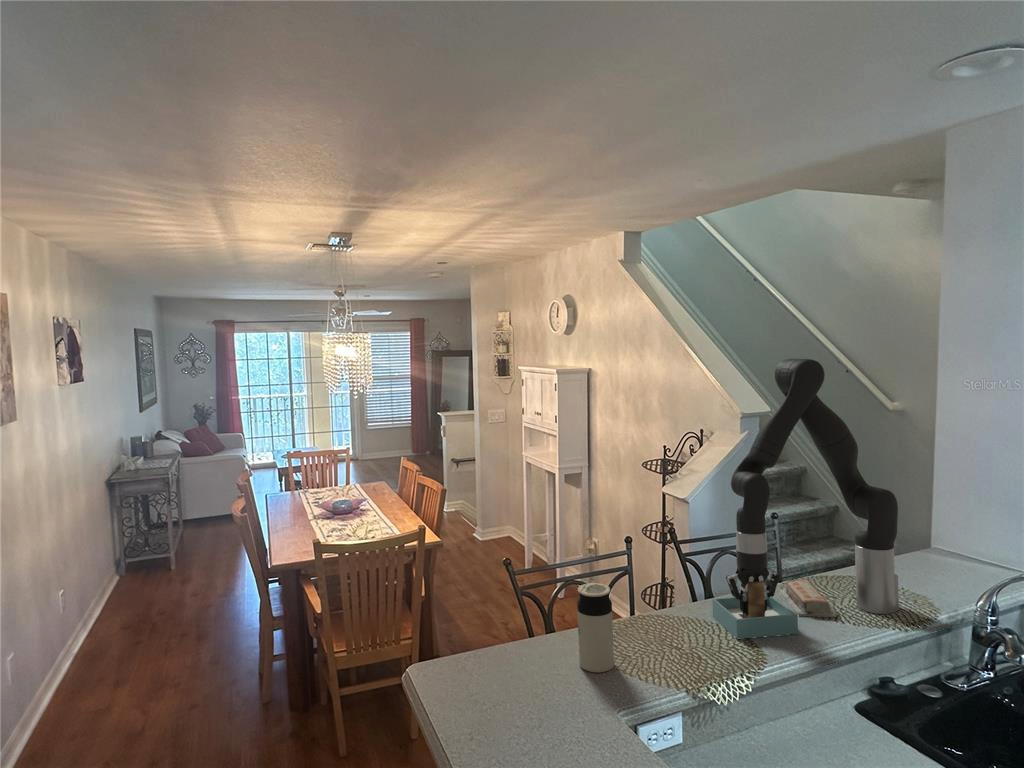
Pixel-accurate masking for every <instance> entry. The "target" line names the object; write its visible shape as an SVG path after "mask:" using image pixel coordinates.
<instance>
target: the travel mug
mask: <svg viewBox="0 0 1024 768" xmlns="http://www.w3.org/2000/svg"><path fill="white" fill-rule="evenodd" d="M577 592H578V594H579V598H578V600H577V602H576V604H577V605H576V606H577V609H576V611H577V631H578V634H577V635H578V655H579V656H578V658H579V667H580V668H582V669H583V670H585V671H587V672H589V673H605V672H608V671H610V670H612V669H613V668H614V666H615V653H614V649H615V648H614V629H613V627H614V626H613V625H614V623H613V620H614V619H613V603H612V600H611V598H610V592H611V588H610V587H609V585H606V584H605V583H599V582H598V583H597V582H596V583H595V582H592V583H591V582H590V583H584V584H582V585H580V586H578V588H577Z"/></svg>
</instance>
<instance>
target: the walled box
mask: <svg viewBox="0 0 1024 768" xmlns="http://www.w3.org/2000/svg"><path fill="white" fill-rule="evenodd" d="M798 617H799V616H798V614H797V613H796V612H795V611H793V609H792V610H791V609H790V608H789V607H787V606H786V605H785V604H783V603H782V602H780V601H779V600H778V599H777V598H775V597H774V596H773V597H771V596H770V597H768V598H767V611H765V616H764V617H753V618H743V613H742V612H741V610H740V600H737V599H736V598H735V597H734V596H732V597H731V596H729V597H720V598H712V618H713V619H714V620H715V621H717V622H718V623H719V625H720V626H721V627H723V628H724V627H725V628H726V629H727V630H728V631H729V632H730V633H731V634H732V635H734V636H735V637H736V638H737V639H738V638H752V639H754V638H753V637H763V638H765V637H764V636H774V637H778V636H777V635H786V636H789V635H788V634H797V635H799V624H798V623H799V622H798ZM725 628H724V629H725ZM726 629H725V630H726ZM727 630H726V631H727ZM728 631H727V632H728ZM729 632H728V633H729ZM730 633H729V634H730ZM731 634H730V635H731ZM732 635H731V636H732ZM736 638H735V639H736ZM737 639H736V640H737Z"/></svg>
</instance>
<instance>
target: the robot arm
mask: <svg viewBox="0 0 1024 768" xmlns="http://www.w3.org/2000/svg"><path fill="white" fill-rule="evenodd" d="M825 377H826V376H825V369H824V367H823V365H822V364H821V363H820V362H819V361H817V360H814V359H812V358H811V359H810V358H786V359H784V360H781V361H779V362H778V364H777V365H776V366H775V369H774V379H775V383H776V385H777V387H778V388H779V390H780V392H781V393H782V394H783V396H784V397H785V398H784V401H783V402H782V404H781V405H780V406H779V407H778V409H777V410H776V411H775V412H774V413H773V414H772V416H771V417H769V418H768V420H766V422H765V423H764V424H763V425H762V427H761V428H760V429H759V431H758V433H757V435H756V436H755V439H754V441H753V443H752V445H751V448H750V450H749V452H748V453H747V455H746V456H745V457H744V458H743V459H742V461H741V462H740V463H739V464H738V465H737V467H736V468H735V470H734V472H733V474H732V476H731V479H730V480H731V481H730V486H731V487H730V488H731V490H732V491H733V493H734V494H736V495H737V496H739V497H742V498H743V504H742V506H741V507H740V508H738V509H737V511H736V514H735V515H736V517H735V519H736V536H735V547H736V548H735V549H736V550H735V551H736V552H735V553H736V554H735V555H736V566H737V567H736V571H735V573H734V574H732V575H729V574H728V575H726V576H725V579H726V582H727V585H728V587H729V590H730V593H731V596H732V597H735V598H736V599H737V600H740V610H741V612H742V613H743V614H744V615H748V601H747V599H748V593H749V589H748V588H749V584H748V583H753V582H755V581H759V582H764V601H765V611H767V598H768V597H770V596H771V597H773V598H774V596H775V593H776V590H777V586H778V583H779V579H780V576H779V574H777V573H776V572H774V571H769V569H768V566H769V565H768V539H767V532H766V529H767V528H766V513H767V509H768V506H769V501H770V496H771V490H770V485H769V481H768V479H767V478H766V477H765V476H763V473H764V472H765V471H766V470H767V469H771V468H774V467H775V465H776V464H777V462H778V461H779V458H780V456H781V453H782V452H783V450H784V447H785V445H786V443H787V441H788V439H789V437H790V436H791V434H792V431H793V430H794V428H795V427H796V425H797V424H798V422H799V421H801V422H802V424H803V426H804V428H805V429H806V430H807V433H808V434H809V436H810V437H811V439H812V442H813V443H814V445H815V447H816V448H817V450H818V452H819V453H820V455H821V457H822V458H823V460H824V462H825V464H826V465H827V467H828V468H829V471H830V472H831V474H832V477H834V480H835V481H836V484H837V486H838V488H839V490H840V493H841V494H842V498H843V500H844V502H845V505H846V506H847V508H848V510H849V511H850V512H851V514H853V515H854V516H856V517H858V518H861V519H863V520H867V529H866V530H862V531H861V530H860V531H857V532H856V533H855V534H854V554H855V555H854V560H855V562H854V563H855V564H854V565H855V603H856V604H855V605H856V607H857V608H859V609H860V610H862V611H865V612H868V613H872V614H877V615H879V614H880V615H889V614H893V613H895V612H896V611H899V610H900V602H899V601H900V599H899V597H900V594H899V593H900V592H899V575H898V574H896V573H895V571H896V569H895V568H896V567H895V541H896V538H897V536H898V535H897V534H898V518H899V517H898V516H899V507H898V500H897V497H896V495H895V494H894V493H893V491H891V490H890V489H889V490H888V489H885V488H881V487H877V486H872V485H870V484H868V483H867V481H865V479H864V478H863V475H862V473H861V472H860V470H859V469H858V457H859V447H858V443H857V441H856V439H855V437H854V436H853V433H852V431H851V430H850V428H849V427H848V425H847V424H846V422H845V421H844V420H843V419H842V418H841V417H840V416H839V415H838V414H836V412H834V411H833V410H832V409H831V408H830V407H829V406H828V405H826V404H825V402H823V401H822V400H821V398H820V397H819V396H818V395H817V394H818V393H819V391H820V390H821V388H822V386H823V383H824V380H825ZM767 579H768V580H767ZM738 580H739V581H740V582H739V587H738V586H737V584H738ZM766 580H767V582H766ZM765 582H766V585H765ZM743 585H744V586H745V587H746V588H745V587H744V586H743ZM738 588H739V589H738Z"/></svg>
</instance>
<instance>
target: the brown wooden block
mask: <svg viewBox="0 0 1024 768" xmlns="http://www.w3.org/2000/svg"><path fill="white" fill-rule="evenodd" d="M748 584H749V588H748V589H749V593H748V599H747V601H748V615H744V614H743V618H753V617H764V616H765V601H764V584H765V582H759V581H755V582H753V583H748ZM743 586H744V585H743ZM744 587H745V586H744ZM745 588H746V587H745Z"/></svg>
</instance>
